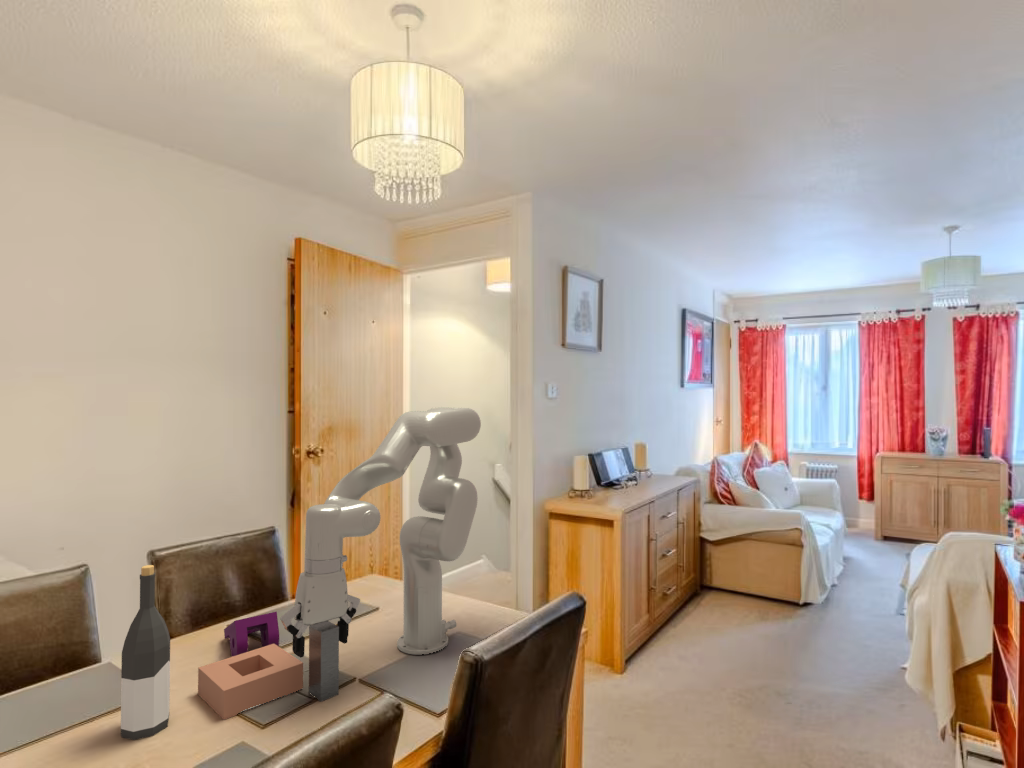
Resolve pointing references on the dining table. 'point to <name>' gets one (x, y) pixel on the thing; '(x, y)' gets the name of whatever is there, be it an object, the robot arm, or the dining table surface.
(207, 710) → the dining table surface
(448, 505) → the robot arm
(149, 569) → the wine bottle
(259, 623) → the mounting bracket
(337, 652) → the steel bar
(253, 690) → the well holder
